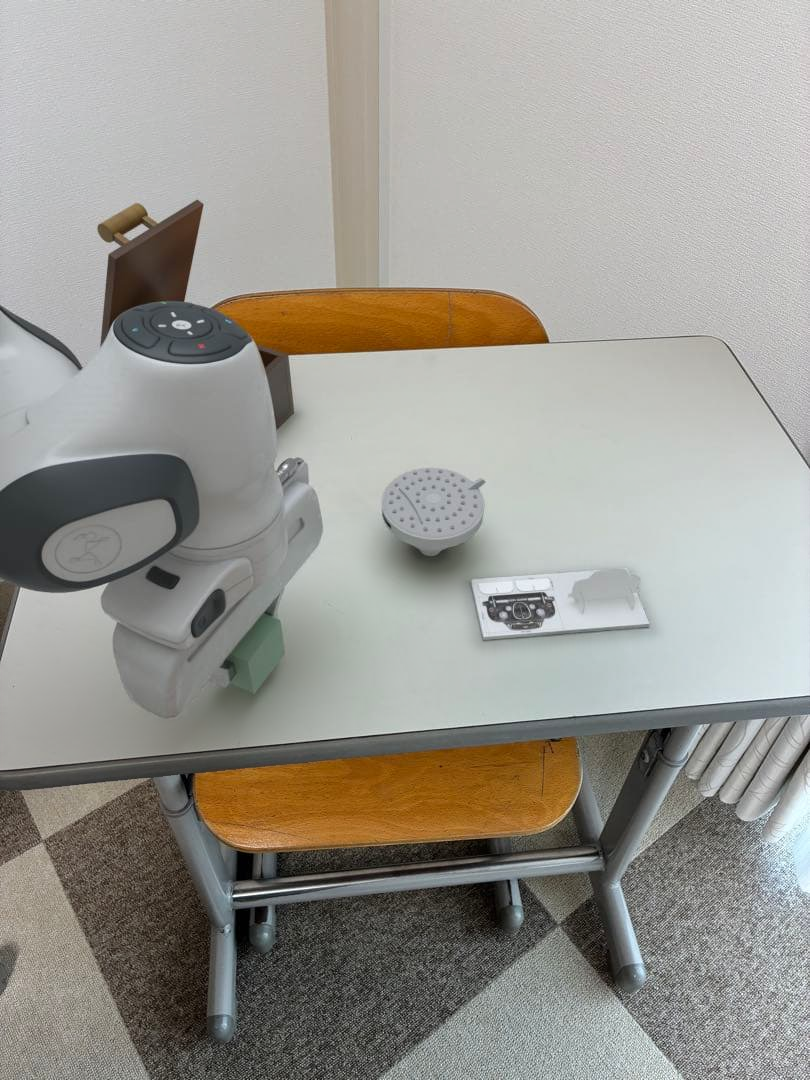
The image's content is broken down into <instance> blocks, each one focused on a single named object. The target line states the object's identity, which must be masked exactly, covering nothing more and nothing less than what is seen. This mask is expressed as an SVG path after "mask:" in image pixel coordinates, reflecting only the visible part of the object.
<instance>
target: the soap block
mask: <svg viewBox="0 0 810 1080" xmlns="http://www.w3.org/2000/svg"><path fill="white" fill-rule="evenodd" d="M285 654H286V651H285V643H284V636H283V628H282V621H281V619H279V618H278V619H276V618H274V617H272V616H269V615H267V614H265V613H263V614H262V615H261V617H260V618H259V619H258V620H257V621H256V623H255V624H254V625H253V626H252V628H251V629H250V630H249V631H248V632H247V634H246V635H245V636H244V637H243V639H242V640H241V641H240V642H239V643H238V645H237V646H236V647H235V648H234V650H233V651H232V652H231V653H230V654H229V656H228V657H227V658H226V659H227V660H229V661H231V662H233V663H234V664H235V668H236V669H235V671H236V673H237V674H236V675H235V676H234V678H233V679H232V680H231V682H230V683H229V684H231V685H233V686H236V687H237V688H239V689H242V690H244V691H246V692H248V693H250V694H252V695H256V693H257V692H258V690H260V687H261V686H262V685H263V684H264V682H265V681H266V680H267V678H268V677H269V676H270V675H271V673H272V672H273V670H274V669H275V668H276V666H277V665H278V664H279V662H280V661H281V660H282V658H283V657H284V656H285ZM226 659H225V660H226Z"/></svg>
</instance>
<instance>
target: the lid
mask: <svg viewBox="0 0 810 1080" xmlns="http://www.w3.org/2000/svg"><path fill="white" fill-rule="evenodd" d="M204 205H205V204H204V203H203V202H202V201H200V200H199V199H195V200H194V201H193V202H191V203H189V204H187V205H185V206H184V207H183V208H181V209H179V210H178V211H175V212H174V213H173V214H171V215H170V216H168V217H166V218H165V219H163V220H162V221H159V222H157V221H156V220H154V219H153V218H151V217H150V216H149V213H148V211H147V209H146V207H144V205H143V204H141V203H139V202H135V203H133V204H131V205H129V206H128V207H126V208H125V209H123V210H121V211H119V212H118V213H116V214H114V215H112V216H111V217H109V218H107V219H106V220H104V221H102V222H100V223H98V224H97V227H96V229H97V233H98V235H99V237H100V239H102V241H104V242H106V243H108V244H110V243H113V242H114V243H116V244H117V245H119V247H117V248H116V249H114V250H113V251H111V252H110V253H108V255H107V267H106V277H105V278H106V279H105V289H104V298H103V300H104V302H103V312H102V322H101V335H100V344H99V348H100V347H101V346H102V344H103V343H104V341H105V339H106V337H107V335H108V333H109V330H110V328H111V326H112V324H113V322H114V321H115V319H116V318H117V317H118V316H119V315H120V314H122V313H123V312H125V311H127V310H129V309H131V308H133V307H136V306H140V305H144V304H148V303H153V302H161V301H180V302H186V301H185V300H186V296H187V291H188V286H189V281H190V275H191V271H192V265H193V259H194V254H195V250H196V247H197V246H196V245H197V241H198V240H197V239H198V234H199V231H200V230H199V229H200V226H201V219H202V214H203V210H204ZM141 225H143V226H144V227H146V228H147V229H146V230H145V231H143V232H142V233H140V234H139V235H137V236H135V237H134V238H132V239H129V238H128V237H126V236H125V235H126V234H128V233H130V232H131V231H133V230H135V229H136V228H137V227H140V226H141Z"/></svg>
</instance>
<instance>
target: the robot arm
mask: <svg viewBox="0 0 810 1080" xmlns="http://www.w3.org/2000/svg"><path fill="white" fill-rule="evenodd" d="M256 344H257V343H256V342H255V340H254V338H253V337H252V336H251V335H250V334H249V332H248V331H247V330H246V329H244V328H243V327H242V325H240V324H239V323H237V322H236V321H235V320H233V319H232V318H231V317H229V316H228V315H226V314H224V313H223V312H221V311H219V310H217V309H215V308H212V307H208V306H205V305H200V304H196V303H193V302H190V301H189V302H188V301H184V302H180V301H161V302H153V303H148V304H144V305H140V306H136V307H133V308H131V309H129V310H127V311H125V312H123V313H122V314H120V315H119V316H118V317H117V318H116V319H115V321H114V322H113V324H112V326H111V328H110V330H109V333H108V335H107V337H106V339H105V341H104V343H103V344H102V346H101V347H100V346H99V348H98V349H97V351H96V352H95V353H94V354H93V356H92V357H90V359H89V360H88V361H87V362H86V364H85V365H84V366H83V365H82V364H81V363H80V360H79V359H78V358H77V356H76V355H75V354H74V352H73V351H72V350H71V349H70V348H69V347H68V346H66V345H65V344H64V342H62V341H61V340H59V338H56V336H54V335H53V334H51V333H49V332H47V331H46V330H45V329H43V328H41V327H39V326H37V325H35V324H33V323H32V322H30V321H28V320H27V319H24V318H23V317H20V316H19V315H17V314H15V313H13V312H12V311H10V310H8V309H7V308H5V307H4V306H3V305H1V304H0V579H1V580H3V581H5V582H6V583H9V584H11V585H14V586H16V587H19V588H21V589H25V590H29V591H34V592H39V593H49V594H50V593H51V594H66V593H77V592H81V591H86V590H90V589H93V588H97V587H100V586H104V585H106V584H107V585H106V586H105V588H104V590H103V591H102V593H101V596H100V605H101V608H102V612H103V613H104V614H105V615H107V616H108V617H109V618H111V619H112V620H113V621H115V622H116V624H115V627H114V630H113V634H112V650H113V651H112V653H113V657H114V661H115V665H116V668H117V672H118V675H119V678H120V682H121V684H122V687H123V689H124V692H125V694H126V695H127V697H128V699H129V700H130V701H131V702H132V703H133V704H134V705H136V706H138V707H139V708H142V709H143V710H144V711H146V712H148V713H151V714H153V715H154V716H157V717H159V718H162V719H166V720H167V719H175V718H178V717H180V716H181V715H182V713H183V712H184V711H185V710H186V708H187V707H188V706H189V705H190V703H192V701H193V700H194V699H195V697H196V696H197V695H198V693H199V692H200V691H201V690H202V689H203V687H204V686H205V685H206V684H207V683H208V681H210V682H211V683H212V684H215V685H217V686H218V687H221V688H223V689H226V688H227V687H228V686H229V684H231V683H230V682H231V680H232V679H233V678H234V676H235V675H236V674H237V673H236V671H235V669H236V668H235V664H234V663H233V662H231V661H229V660H227V659H226V658H227V657H228V656H229V654H230V653H231V652H232V651H233V650H234V648H235V647H236V646H237V645H238V643H239V642H240V641H241V640H242V639H243V637H244V636H245V635H246V634H247V632H248V631H249V630H250V629H251V628H252V626H253V625H254V624H255V623H256V621H257V620H258V619H259V618H260V617H261V615H262V614H263V613H265V614H267V615H269V616H272V617H274V618H276V619H278V620H279V615H278V614H279V613H278V610H279V607H280V605H281V601H282V598H283V595H284V593H285V592H284V591H285V588H286V587H287V585H288V584H289V583H290V581H291V580H292V579H293V578H294V577H295V575H296V574H297V572H299V570H300V569H301V568H302V566H303V565H304V564H305V563H306V562H307V560H308V559H309V558H310V557H311V555H312V554H313V553H314V552H315V551H316V549H317V548H318V547H319V545H320V543H321V540H322V537H323V533H324V524H323V517H322V516H323V515H322V511H321V506H320V501H319V497H318V495H317V492H316V490H315V489H314V486H312V485H310V477H309V465H308V463H307V461H306V460H304V459H303V458H302V457H295V458H293V457H288V458H286V459H285V460H283V461H282V462H281V463H280V464H279V466H278V467H277V469H275V463H276V458H277V455H278V447H279V446H278V433H277V430H276V424H275V417H274V410H273V404H272V398H271V393H270V389H269V384H268V380H267V376H266V372H265V368H264V365H263V362H262V358H261V355H260V353H259V350H258V348H257V346H256ZM225 659H226V660H225Z"/></svg>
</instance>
